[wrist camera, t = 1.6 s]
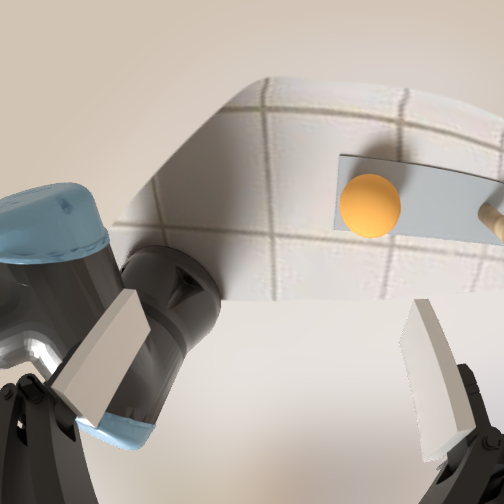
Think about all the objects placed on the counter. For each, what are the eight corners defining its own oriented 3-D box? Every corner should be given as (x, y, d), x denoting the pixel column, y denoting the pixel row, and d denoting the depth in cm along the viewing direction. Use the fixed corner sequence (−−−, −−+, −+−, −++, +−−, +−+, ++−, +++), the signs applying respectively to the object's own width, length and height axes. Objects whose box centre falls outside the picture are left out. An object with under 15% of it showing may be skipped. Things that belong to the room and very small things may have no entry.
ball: (334, 220, 29) (339, 247, 24) (338, 165, 26) (346, 180, 21) (387, 224, 28) (401, 251, 23) (394, 171, 25) (414, 188, 20)
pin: (474, 220, 25) (510, 256, 18) (479, 200, 24) (518, 233, 17) (488, 222, 25) (525, 258, 18) (493, 203, 24) (532, 235, 16)
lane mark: (333, 228, 30) (333, 229, 30) (339, 155, 26) (339, 155, 26) (519, 247, 25) (519, 248, 25) (534, 192, 21) (534, 193, 21)
